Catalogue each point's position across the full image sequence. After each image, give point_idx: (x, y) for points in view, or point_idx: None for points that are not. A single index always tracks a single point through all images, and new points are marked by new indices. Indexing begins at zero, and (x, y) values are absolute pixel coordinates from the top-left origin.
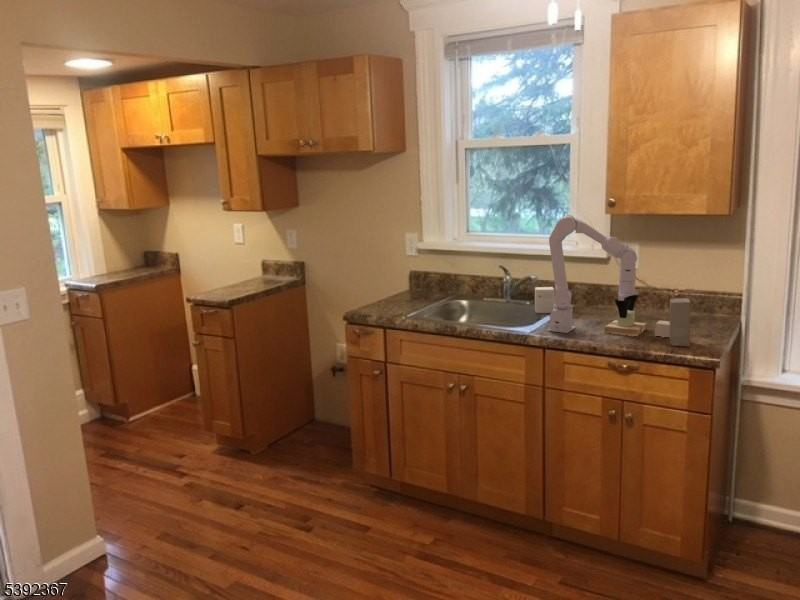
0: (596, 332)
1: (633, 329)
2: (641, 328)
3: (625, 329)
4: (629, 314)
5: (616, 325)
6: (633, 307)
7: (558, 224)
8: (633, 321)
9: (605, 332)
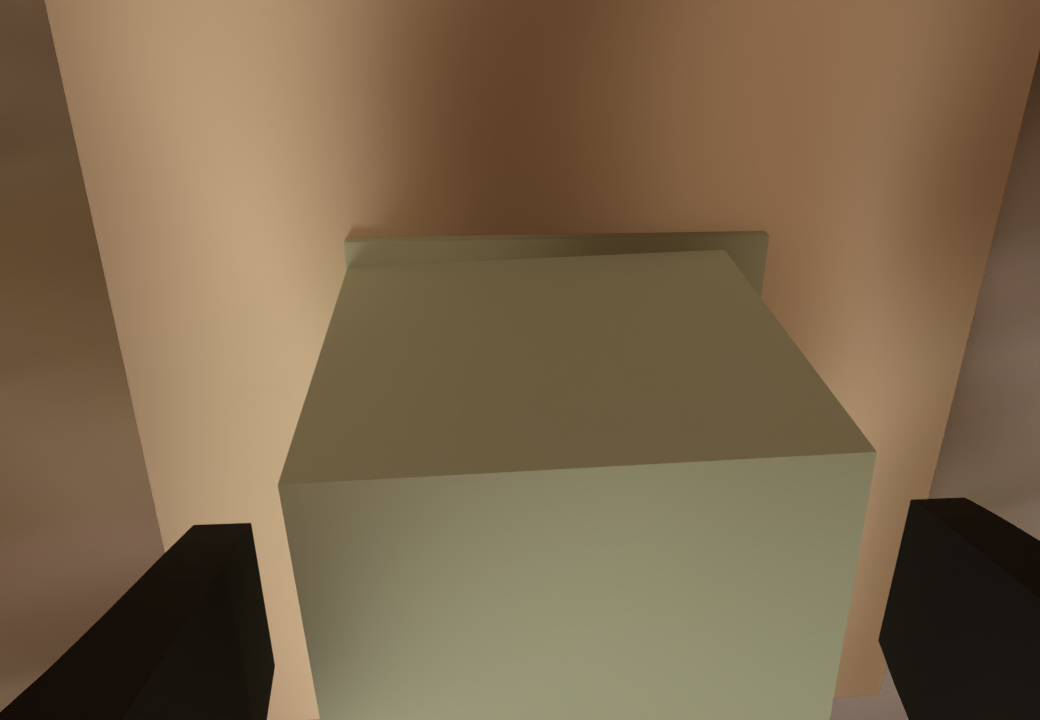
0: (846, 703)
1: (969, 104)
2: None
3: (974, 293)
4: (851, 493)
5: None
6: (121, 666)
7: None
8: (478, 297)
9: None
